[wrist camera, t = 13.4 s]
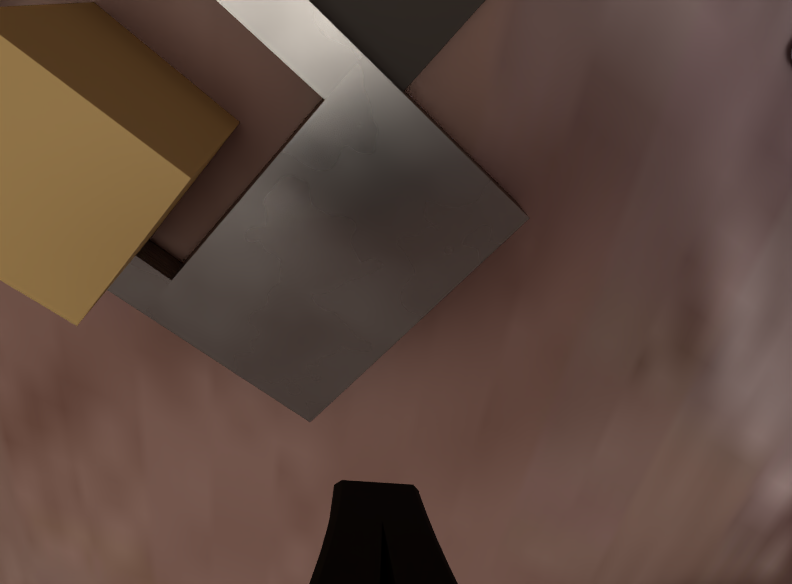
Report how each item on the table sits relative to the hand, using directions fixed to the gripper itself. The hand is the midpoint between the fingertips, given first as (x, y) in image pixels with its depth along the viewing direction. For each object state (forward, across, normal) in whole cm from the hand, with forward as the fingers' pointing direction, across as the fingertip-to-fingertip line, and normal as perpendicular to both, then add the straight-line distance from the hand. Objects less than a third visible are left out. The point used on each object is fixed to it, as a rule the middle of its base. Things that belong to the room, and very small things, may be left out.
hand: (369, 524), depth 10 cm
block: (+10, +7, -4) cm, 13 cm away
